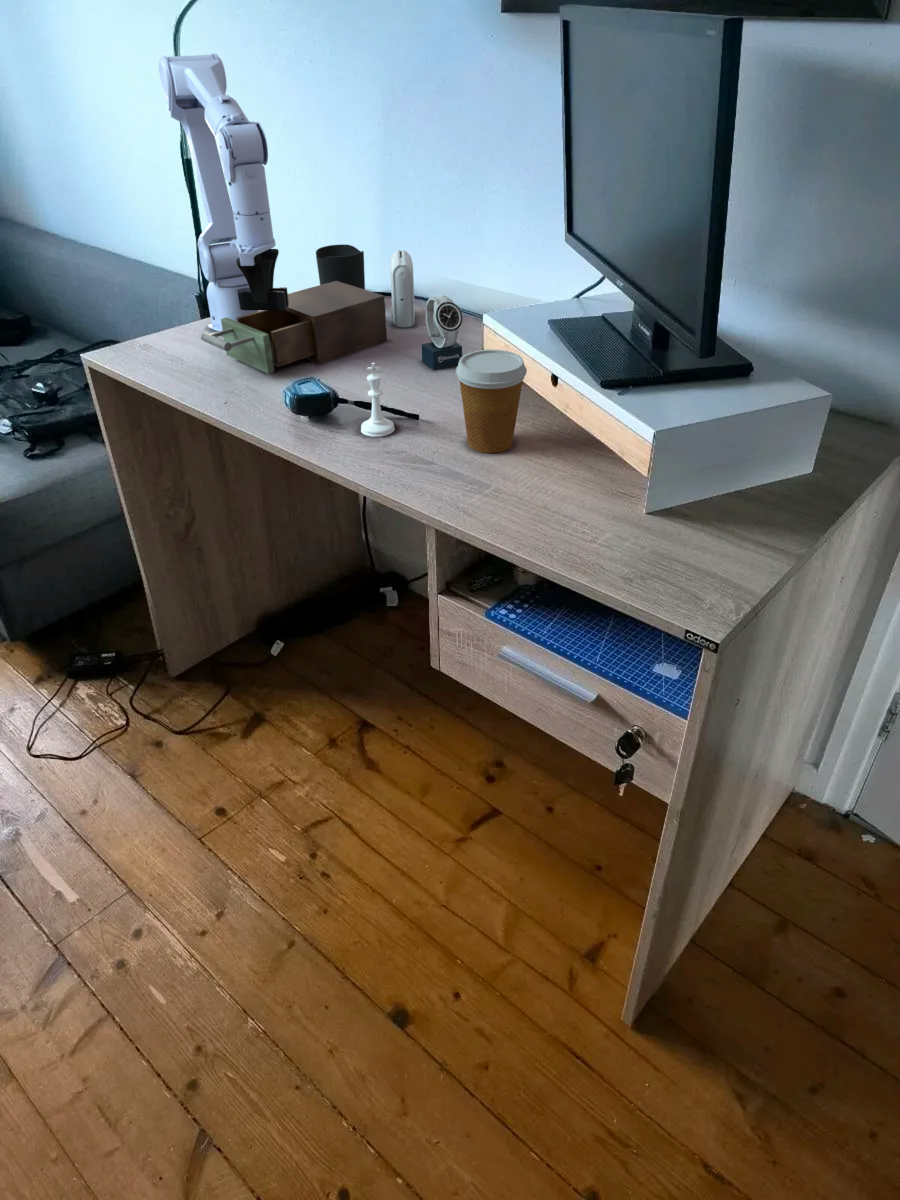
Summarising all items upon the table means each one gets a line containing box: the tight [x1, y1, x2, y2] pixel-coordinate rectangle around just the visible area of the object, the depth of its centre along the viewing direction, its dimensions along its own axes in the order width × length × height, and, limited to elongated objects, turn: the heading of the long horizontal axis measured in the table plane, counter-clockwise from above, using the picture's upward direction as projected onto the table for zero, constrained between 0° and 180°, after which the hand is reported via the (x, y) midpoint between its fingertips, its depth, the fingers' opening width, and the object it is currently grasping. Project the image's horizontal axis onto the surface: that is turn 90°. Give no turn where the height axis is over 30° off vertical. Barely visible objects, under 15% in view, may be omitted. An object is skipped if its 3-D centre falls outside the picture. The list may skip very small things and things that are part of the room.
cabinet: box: [286, 281, 388, 364], centre depth 152 cm, size 16×14×8 cm
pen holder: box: [315, 243, 366, 290], centre depth 171 cm, size 9×9×10 cm
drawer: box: [200, 310, 315, 375], centre depth 145 cm, size 20×12×6 cm, turn 135°
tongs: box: [237, 286, 289, 311], centre depth 142 cm, size 8×3×3 cm, turn 88°
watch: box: [421, 295, 465, 371], centre depth 142 cm, size 6×8×11 cm
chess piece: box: [360, 362, 396, 438], centre depth 122 cm, size 5×5×10 cm
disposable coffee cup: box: [455, 349, 528, 454], centre depth 117 cm, size 10×10×12 cm
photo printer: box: [389, 249, 416, 328], centre depth 161 cm, size 10×4×12 cm, turn 4°
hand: (263, 299), depth 142 cm, fingers closed on tongs, 2 cm apart
